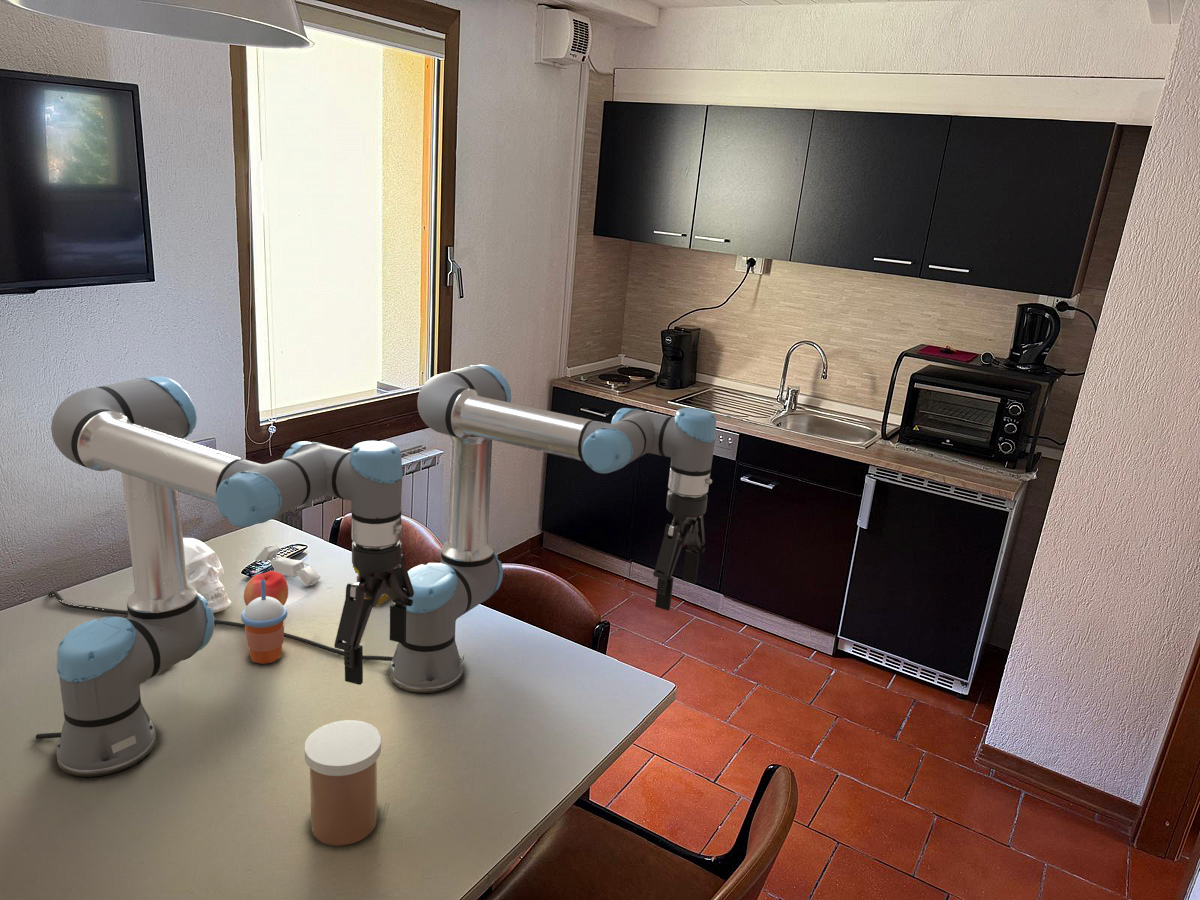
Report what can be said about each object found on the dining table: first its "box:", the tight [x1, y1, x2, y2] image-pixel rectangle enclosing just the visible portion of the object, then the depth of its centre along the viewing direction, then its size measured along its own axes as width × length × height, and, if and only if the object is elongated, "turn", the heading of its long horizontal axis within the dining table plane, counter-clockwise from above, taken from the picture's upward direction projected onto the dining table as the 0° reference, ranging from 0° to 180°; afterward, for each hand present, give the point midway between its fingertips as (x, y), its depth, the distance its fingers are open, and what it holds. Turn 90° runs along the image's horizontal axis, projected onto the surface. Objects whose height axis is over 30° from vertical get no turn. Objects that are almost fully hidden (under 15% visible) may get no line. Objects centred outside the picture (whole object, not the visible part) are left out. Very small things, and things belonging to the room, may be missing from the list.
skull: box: [183, 537, 232, 614], centre depth 201 cm, size 13×22×16 cm, turn 73°
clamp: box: [254, 544, 322, 587], centre depth 219 cm, size 20×4×7 cm, turn 62°
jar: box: [309, 759, 378, 846], centre depth 137 cm, size 10×10×15 cm
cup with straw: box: [240, 580, 288, 665], centre depth 181 cm, size 9×9×18 cm
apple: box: [243, 570, 289, 607], centre depth 199 cm, size 10×10×10 cm
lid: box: [304, 719, 382, 776], centre depth 135 cm, size 12×12×2 cm
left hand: (376, 660), depth 139 cm, fingers open, 13 cm apart
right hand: (676, 594), depth 165 cm, fingers open, 13 cm apart
